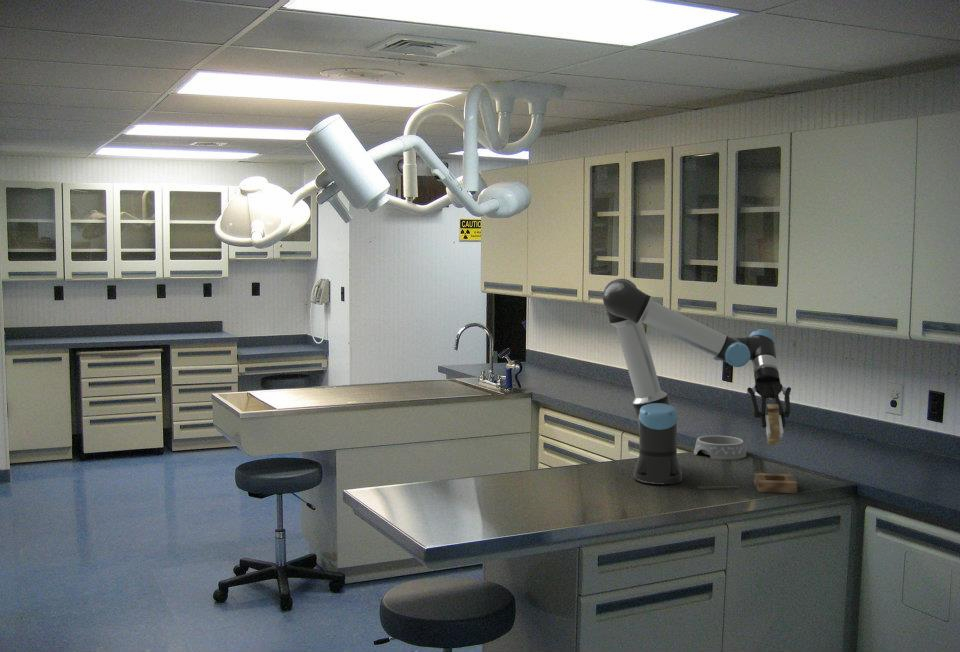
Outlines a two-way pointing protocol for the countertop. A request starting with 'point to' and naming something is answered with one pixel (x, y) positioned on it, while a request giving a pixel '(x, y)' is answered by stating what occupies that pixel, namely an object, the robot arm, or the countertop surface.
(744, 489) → the countertop surface
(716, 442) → the dog bowl
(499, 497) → the countertop surface
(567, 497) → the countertop surface
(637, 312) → the robot arm
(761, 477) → the square wooden tray
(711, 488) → the lace
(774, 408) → the wooden peg
